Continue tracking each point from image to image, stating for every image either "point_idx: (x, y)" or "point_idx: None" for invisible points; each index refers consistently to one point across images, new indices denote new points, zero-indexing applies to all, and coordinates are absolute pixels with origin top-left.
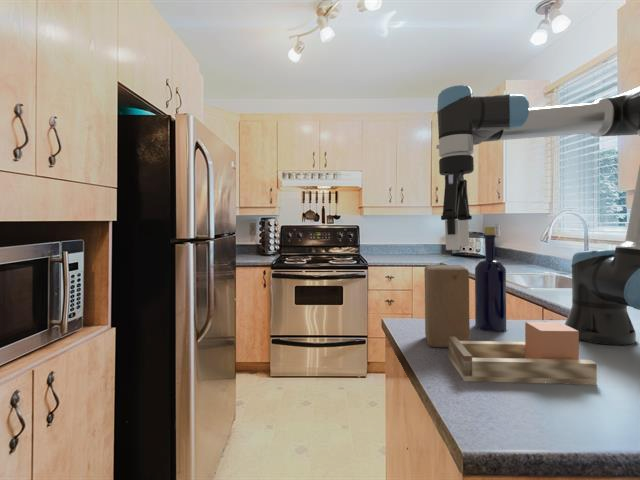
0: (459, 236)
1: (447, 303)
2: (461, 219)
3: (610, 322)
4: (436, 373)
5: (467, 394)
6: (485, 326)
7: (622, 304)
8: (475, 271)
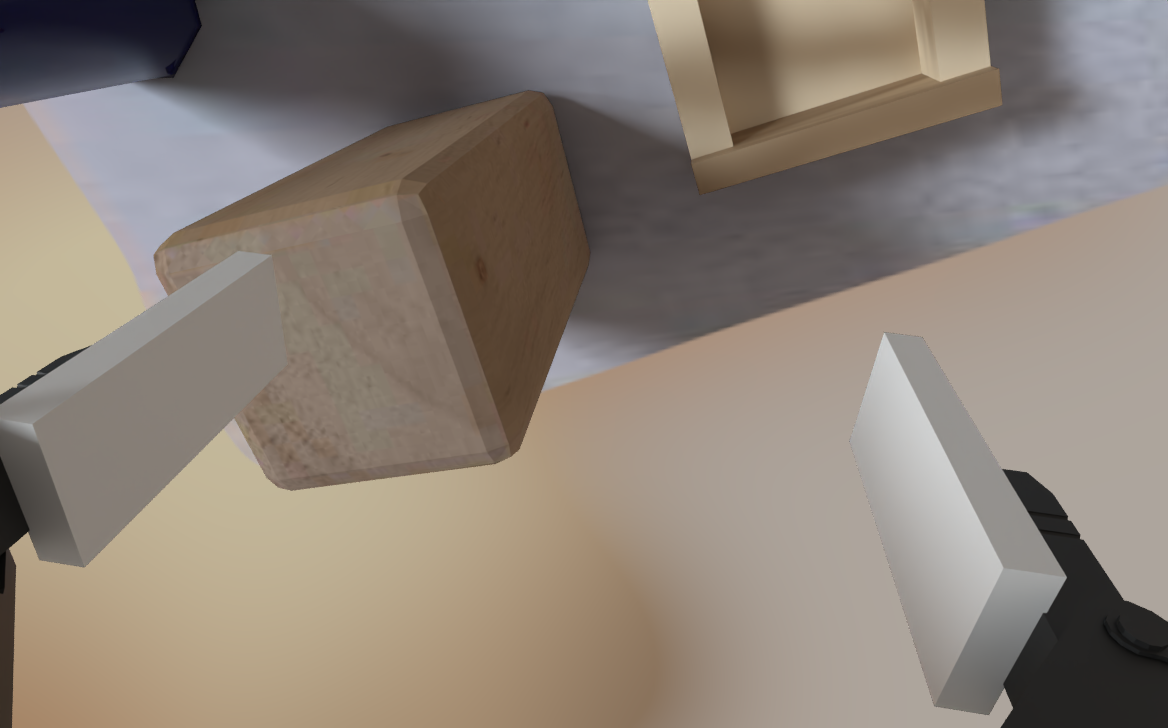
0: (223, 397)
1: (536, 253)
2: (13, 516)
3: None
4: (897, 200)
5: (1098, 68)
6: (181, 20)
7: None
8: None
